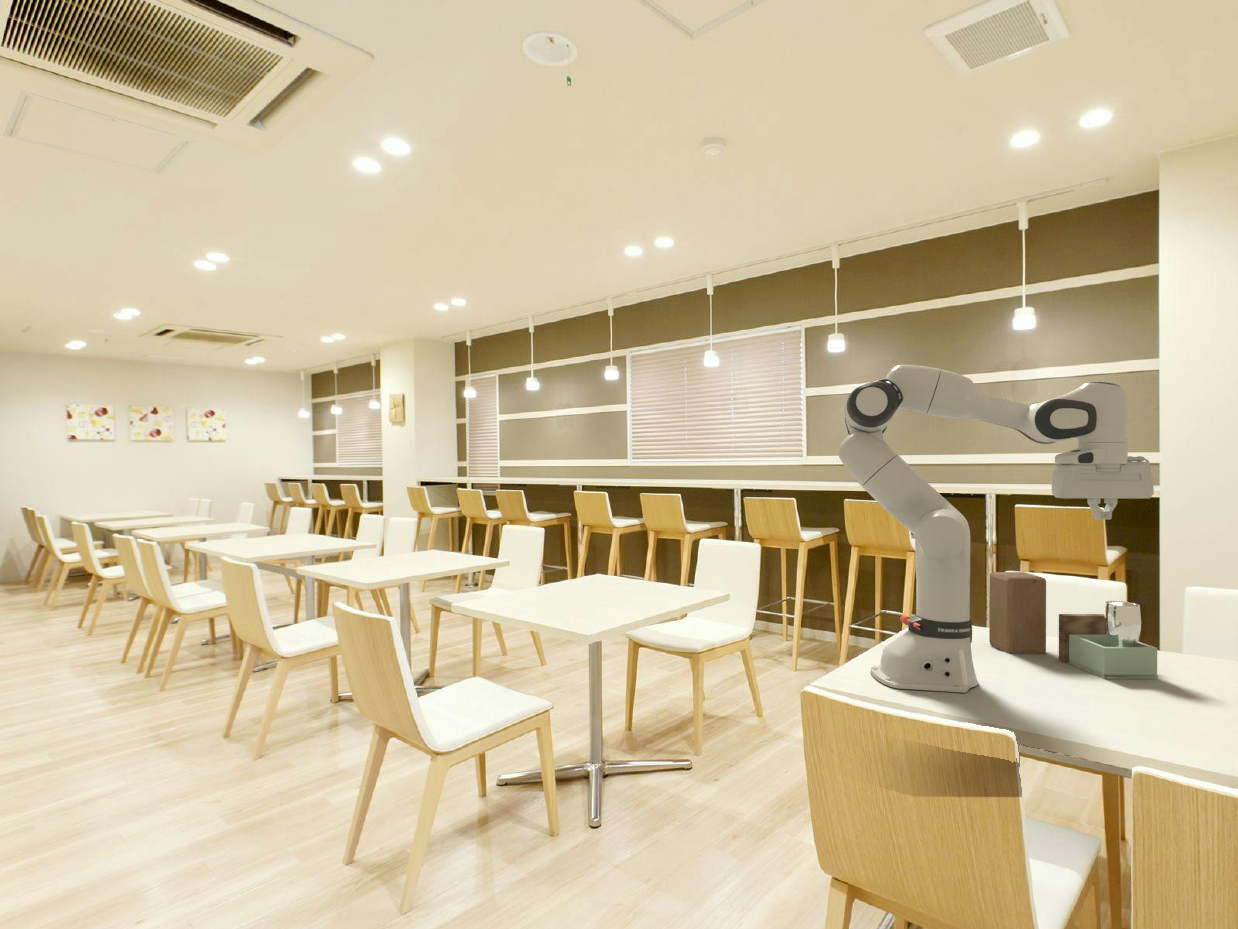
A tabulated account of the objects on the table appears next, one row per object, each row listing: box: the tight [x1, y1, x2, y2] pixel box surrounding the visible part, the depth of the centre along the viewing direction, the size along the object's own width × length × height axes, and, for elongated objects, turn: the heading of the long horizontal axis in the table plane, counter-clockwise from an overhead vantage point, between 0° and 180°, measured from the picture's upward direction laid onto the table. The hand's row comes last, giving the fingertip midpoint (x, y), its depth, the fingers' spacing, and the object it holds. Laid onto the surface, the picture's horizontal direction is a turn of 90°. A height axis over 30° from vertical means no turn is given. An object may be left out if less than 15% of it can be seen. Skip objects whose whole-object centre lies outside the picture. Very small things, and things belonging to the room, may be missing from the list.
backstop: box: [1058, 613, 1106, 664], centre depth 156 cm, size 14×20×12 cm
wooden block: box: [988, 571, 1047, 655], centre depth 177 cm, size 10×10×20 cm
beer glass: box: [1103, 600, 1142, 647], centre depth 157 cm, size 7×7×15 cm
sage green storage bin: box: [1068, 635, 1158, 680], centre depth 158 cm, size 12×12×7 cm
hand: (1102, 519), depth 147 cm, fingers closed
